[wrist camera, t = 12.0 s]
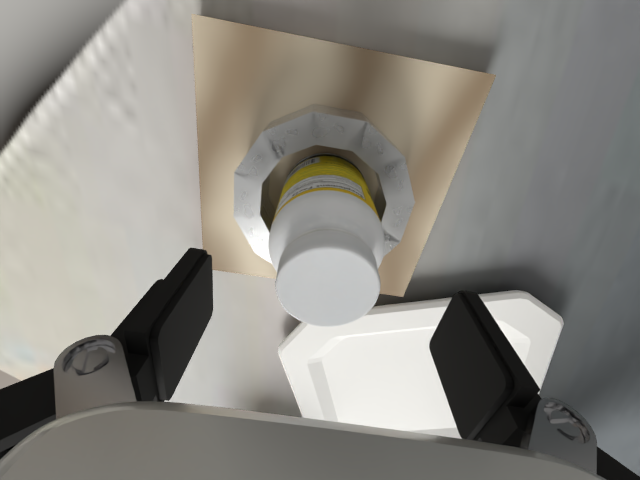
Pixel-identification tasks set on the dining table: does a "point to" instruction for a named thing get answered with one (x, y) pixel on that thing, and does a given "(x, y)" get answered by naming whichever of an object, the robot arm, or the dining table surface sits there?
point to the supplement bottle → (326, 242)
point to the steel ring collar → (329, 131)
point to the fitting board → (330, 90)
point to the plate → (402, 362)
